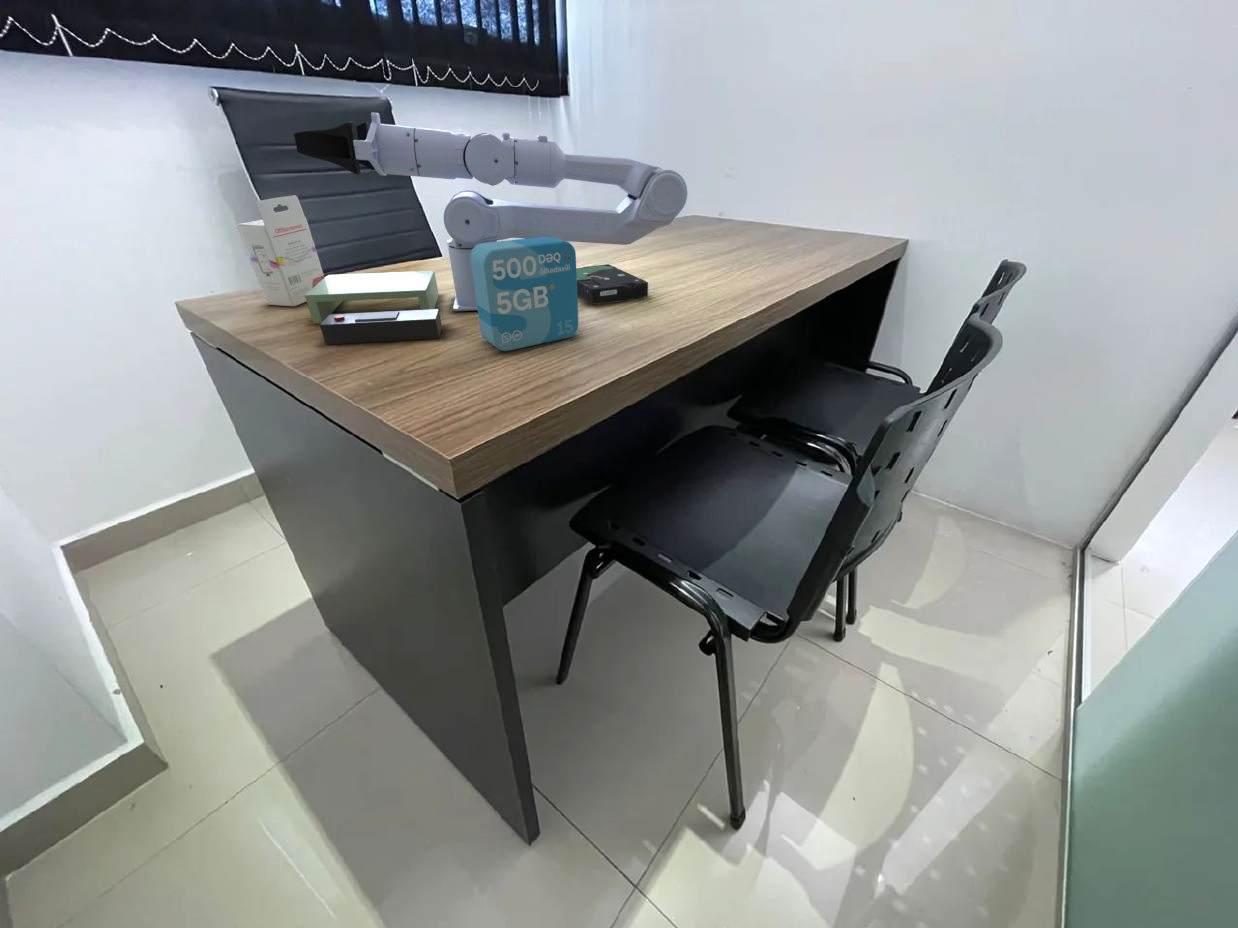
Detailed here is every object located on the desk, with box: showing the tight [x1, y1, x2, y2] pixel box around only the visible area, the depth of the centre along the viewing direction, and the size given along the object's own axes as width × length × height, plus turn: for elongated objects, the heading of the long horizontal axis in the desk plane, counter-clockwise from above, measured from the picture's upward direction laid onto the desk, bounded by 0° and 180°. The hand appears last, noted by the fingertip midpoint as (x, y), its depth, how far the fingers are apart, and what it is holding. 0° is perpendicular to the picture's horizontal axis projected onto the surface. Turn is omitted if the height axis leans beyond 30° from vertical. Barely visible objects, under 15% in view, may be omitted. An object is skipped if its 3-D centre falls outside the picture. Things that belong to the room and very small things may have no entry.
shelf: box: [305, 270, 440, 325], centre depth 77 cm, size 16×12×4 cm
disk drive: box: [576, 263, 649, 305], centre depth 87 cm, size 10×3×15 cm
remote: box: [319, 308, 443, 346], centre depth 68 cm, size 14×4×3 cm, turn 101°
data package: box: [470, 236, 579, 352], centre depth 64 cm, size 12×4×12 cm, turn 124°
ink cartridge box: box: [236, 194, 325, 307], centre depth 79 cm, size 9×5×15 cm, turn 168°
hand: (306, 142), depth 66 cm, fingers open, 7 cm apart
